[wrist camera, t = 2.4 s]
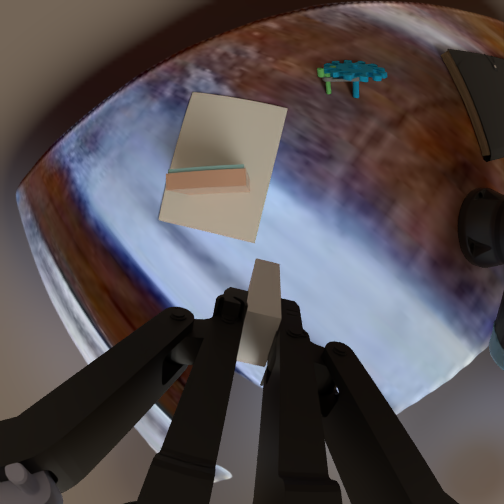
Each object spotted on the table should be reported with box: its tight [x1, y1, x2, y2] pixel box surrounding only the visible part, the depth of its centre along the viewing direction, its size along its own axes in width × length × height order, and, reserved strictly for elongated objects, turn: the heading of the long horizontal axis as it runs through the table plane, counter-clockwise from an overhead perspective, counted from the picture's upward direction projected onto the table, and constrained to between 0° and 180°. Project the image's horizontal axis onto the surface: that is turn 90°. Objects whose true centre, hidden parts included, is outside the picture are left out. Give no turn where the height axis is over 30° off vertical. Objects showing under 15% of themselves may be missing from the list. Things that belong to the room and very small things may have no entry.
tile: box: [166, 164, 250, 195], centre depth 34 cm, size 2×9×10 cm, turn 91°
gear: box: [317, 60, 387, 98], centre depth 34 cm, size 11×6×10 cm
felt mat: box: [159, 92, 287, 243], centre depth 38 cm, size 15×21×1 cm
